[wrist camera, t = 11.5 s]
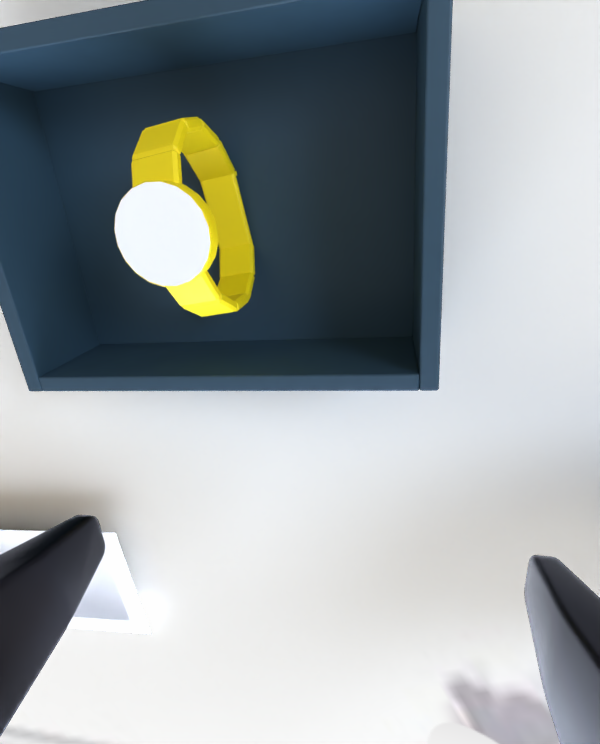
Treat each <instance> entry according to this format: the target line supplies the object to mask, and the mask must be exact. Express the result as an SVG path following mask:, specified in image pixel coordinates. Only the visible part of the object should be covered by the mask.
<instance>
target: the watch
mask: <svg viewBox="0 0 600 744" xmlns="http://www.w3.org/2000/svg"><path fill="white" fill-rule="evenodd" d="M181 152H182V153H183V154H184V156H185V158H186V159H187V161H188V162H189V164H190V166H191V167H192V169H193V171H194V172H195V174H196V176H197V177H198V179H199V181H200V183H201V186H202V190H203V193H204V197H205V200H206V203H205V201H204V200H203V199H202V198H201V196H200V195H199V194H197V193H196V192H195V191H193V190H192V189H190V188H189V187H187V186H186V185H184V184H182V171H181V157H180V154H181ZM132 160H133V161H132V163H131V170H132V188H131V189H130V190H129V191H128V192H127V194H126V195H125V196H124V197H123V198H122V199H121V201H120V204H119V206H118V208H117V211H116V214H115V226H114V231H115V236H116V241H117V245H118V248H119V250H120V252H121V254H122V256H123V258H124V260H125V261H126V263H127V264H128V265H129V266H130V267H131V268H132V269H133V271H134V272H135V273H136V274H138V275H139V276H140V277H142V278H143V279H145V280H146V281H148V282H150V283H153V284H156V285H159V286H162V287H166V288H167V289H168V291H169V292H170V293H171V295H172V296H173V297H174V299H175V300H176V301H177V303H178V304H179V305H180V306H181V307H183V308H184V309H186V310H188V311H190V312H192V313H195V314H197V315H199V316H201V317H203V316H211V315H217V314H224V313H230V312H236V311H238V310H239V309H241V308H242V307H243V306H244V305H246V304H247V303H248V301H249V299H250V297H251V292H252V288H253V283H254V279H255V277H254V275H255V258H254V245H253V242H252V238H251V234H250V230H249V226H248V222H247V218H246V214H245V210H244V206H243V202H242V198H241V194H240V190H239V186H238V182H237V178H236V176H237V172H236V171H235V168H234V166H233V164H232V162H231V160H230V158H229V156H228V154H227V152H226V150H225V148H224V146H223V144H222V142H221V141H220V140H219V137H218V136H217V135H216V134H215V133H214V132H213V131H212V130H211V129H210V128H209V127H208V125H207V124H206V123H205V122H204V121H203V120H201V119H200V118H198V117H186V118H180V119H176V120H173V121H169V122H166V123H162V124H159V125H155V126H151V127H148V128H145V130H143V131H142V133H141V136H140V138H139V141H138V143H137V146H136V148H135V151H134V153H133V156H132ZM218 246H219V263H220V280H219V283H218V286H216V284H215V282H214V281H213V279H212V278H211V276H210V274H209V273H208V271H207V270H208V269H209V268H210V266H211V264H212V262H213V260H214V259H215V257H216V253H217V247H218Z"/></svg>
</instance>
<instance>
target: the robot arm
mask: <svg viewBox="0 0 600 744" xmlns="http://www.w3.org/2000/svg"><path fill="white" fill-rule="evenodd" d="M104 552H105V541H104V538H103V534H102V531H101V528H100V524H99V521H98V519H97V518H96V517H94V516H90V515H76V516H74V517H72V518H70V519H68V520H66V521H64V522H63V523H61V524H59V525H57V526H55V527H53V528H51V529H49V530H47V531H45V532H43V533H41V534H39V535H37V536H35V537H33V538H32V539H30V540H28V541H26V542H24V543H22V544H20V545H18V546H16V547H14V548H12V549H10V550H8V551H6V552H4V553H2V554H1V555H0V736H1V735H2V733H3V731H4V730H5V728H6V727H7V725H8V723H9V722H10V720H11V718H12V717H13V715H14V713H15V712H16V710H17V709H18V707H19V705H20V704H21V702H22V700H23V699H24V697H25V696H26V694H27V692H28V691H29V689H30V687H31V686H32V684H33V682H34V681H35V679H36V678H37V676H38V674H39V673H40V671H41V669H42V668H43V666H44V664H45V663H46V661H47V660H48V658H49V656H50V655H51V653H52V651H53V650H54V648H55V646H56V645H57V643H58V642H59V640H60V638H61V637H62V635H63V633H64V632H65V630H66V628H67V627H68V625H69V623H70V621H71V619H72V618H73V616H74V614H75V612H76V610H77V608H78V606H79V604H80V602H81V600H82V598H83V596H84V594H85V592H86V590H87V588H88V586H89V584H90V582H91V580H92V578H93V576H94V574H95V572H96V570H97V568H98V566H99V564H100V562H101V560H102V558H103V555H104ZM525 602H526V607H527V612H528V617H529V622H530V627H531V632H532V636H533V641H534V646H535V651H536V656H537V661H538V666H539V671H540V675H541V680H542V684H543V689H544V693H545V696H546V700H547V703H548V707H549V710H550V713H551V716H552V719H553V723H554V726H555V729H556V732H557V735H558V738H559V742H560V744H600V598H599V597H598V596H597V595H596V594H595V593H594V592H593V591H592V590H591V589H590V588H589V587H588V586H586V585H585V584H584V583H583V582H582V581H581V580H580V579H579V578H578V577H577V576H576V575H575V574H574V573H573V572H571V571H570V570H569V569H568V568H567V567H566V566H565V565H564V564H563V563H562V562H561V561H560V560H558V559H557V558H555V557H550V556H539V555H534V556H532V557H531V558H530V560H529V565H528V571H527V577H526V583H525Z"/></svg>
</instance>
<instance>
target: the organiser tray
mask: <svg viewBox="0 0 600 744" xmlns="http://www.w3.org/2000/svg"><path fill="white" fill-rule="evenodd" d="M452 6H453V0H144V1H139V2H134V3H128V4H123V5H118V6H113V7H108V8H102V9H97V10H92V11H87V12H81V13H76V14H71V15H66V16H61V17H55V18H50V19H45V20H40V21H34V22H29V23H24V24H19V25H14V26H8V27H3V28H0V306H1V308H2V311H3V314H4V317H5V320H6V323H7V326H8V329H9V332H10V335H11V338H12V341H13V344H14V347H15V350H16V353H17V356H18V359H19V362H20V365H21V368H22V371H23V373H24V376H25V379H26V382H27V385H28V388H29V391H417V390H419V389H420V390H422V391H432V390H438V389H439V365H440V337H441V310H442V282H443V255H444V227H445V199H446V172H447V144H448V117H449V89H450V61H451V34H452ZM186 117H198V118H200V119H201V120H203V121H204V122H205V123H206V124H207V125H208V127H209V128H210V129H211V130H212V131H213V132H214V133H215V134H216V135H217V136H218V137H219V140H220V141H221V142H222V144H223V146H224V148H225V150H226V152H227V154H228V156H229V158H230V160H231V162H232V164H233V166H234V168H235V171H236V172H237V176H236V178H237V182H238V186H239V190H240V194H241V198H242V202H243V206H244V210H245V214H246V218H247V222H248V226H249V230H250V234H251V238H252V242H253V245H254V258H255V275H254V277H255V279H254V283H253V288H252V292H251V297H250V299H249V301H248V303H247V304H246V305H244V306H243V307H242V308H241V309H239V310H238V311H236V312H230V313H224V314H217V315H211V316H203V317H201V316H199V315H197V314H195V313H192V312H190V311H188V310H186V309H184V308H183V307H181V306H180V305H179V304H178V303H177V301H176V300H175V299H174V297H173V296H172V295H171V293H170V292H169V291H168V289H167V288H166V287H162V286H159V285H156V284H153V283H150V282H148V281H146V280H145V279H143V278H142V277H140V276H139V275H138V274H136V273H135V272H134V271H133V269H132V268H131V267H130V266H129V265H128V264H127V263H126V261H125V260H124V258H123V256H122V254H121V252H120V250H119V248H118V245H117V241H116V236H115V231H114V226H115V214H116V211H117V208H118V206H119V204H120V201H121V199H122V198H123V197H124V196H125V195H126V194H127V192H128V191H129V190H130V189H131V188H132V170H131V163H132V161H133V160H132V156H133V153H134V151H135V148H136V146H137V143H138V141H139V138H140V136H141V133H142V131H143V130H145V128H148V127H151V126H155V125H159V124H162V123H166V122H169V121H173V120H176V119H180V118H186ZM180 157H181V171H182V184H184V185H186V186H187V187H189V188H190V189H192V190H193V191H195V192H196V193H197V194H199V195H200V196H201V198H202V199H203V200H204V201H205V203H206V200H205V197H204V193H203V190H202V186H201V183H200V181H199V179H198V177H197V176H196V174H195V172H194V171H193V169H192V167H191V166H190V164H189V162H188V161H187V159H186V158H185V156H184V154H183V153H182V152H181V154H180ZM207 271H208V273H209V274H210V276H211V278H212V279H213V281H214V282H215V284H216V286H218V283H219V280H220V263H219V246H218V247H217V253H216V257H215V259H214V260H213V262H212V264H211V266H210V268H209V269H208V270H207Z"/></svg>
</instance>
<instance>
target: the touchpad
mask: <svg viewBox="0 0 600 744" xmlns="http://www.w3.org/2000/svg"><path fill="white" fill-rule="evenodd" d="M43 532H45V531H36V530H0V555H1V554H2V553H4V552H6V551H8V550H10V549H12V548H14V547H16V546H18V545H20V544H22V543H24V542H26V541H28V540H30V539H32V538H33V537H35V536H37V535H39V534H41V533H43ZM102 534H103V538H104V541H105V552H104V555H103V558H102V560H101V562H100V564H99V566H98V568H97V570H96V572H95V574H94V576H93V578H92V580H91V582H90V584H89V586H88V588H87V590H86V592H85V594H84V596H83V598H82V600H81V602H80V604H79V606H78V608H77V610H76V612H75V614H74V616H73V618H72V619H71V621H70V623H69V625H68V627H67V628H74V629H86V630H99V631H112V632H125V633H138V634H151V635H152V633H151V630H150V627H149V625H148V622H147V619H146V616H145V613H144V611H143V608H142V605H141V602H140V599H139V597H138V594H137V591H136V588H135V585H134V583H133V580H132V577H131V574H130V572H129V569H128V566H127V563H126V560H125V558H124V555H123V552H122V549H121V546H120V544H119V541H118V538H117V535H116V532H102Z"/></svg>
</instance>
